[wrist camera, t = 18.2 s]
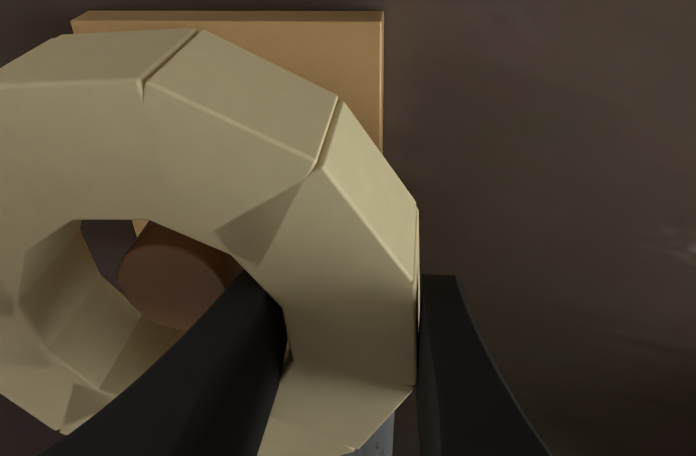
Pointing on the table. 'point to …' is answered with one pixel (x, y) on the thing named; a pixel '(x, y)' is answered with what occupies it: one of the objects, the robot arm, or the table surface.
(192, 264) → the peg stand
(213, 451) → the robot arm
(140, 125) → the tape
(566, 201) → the table surface
